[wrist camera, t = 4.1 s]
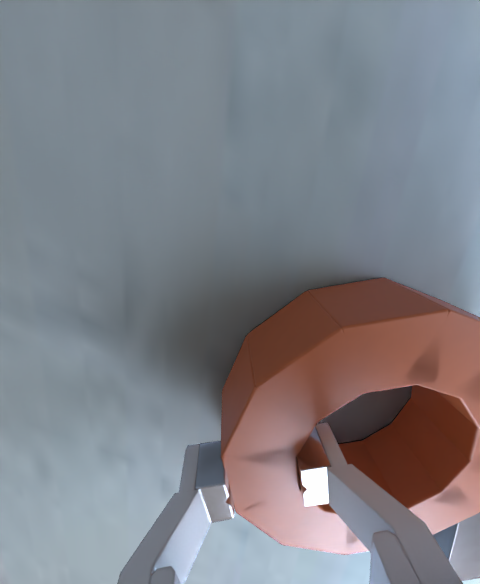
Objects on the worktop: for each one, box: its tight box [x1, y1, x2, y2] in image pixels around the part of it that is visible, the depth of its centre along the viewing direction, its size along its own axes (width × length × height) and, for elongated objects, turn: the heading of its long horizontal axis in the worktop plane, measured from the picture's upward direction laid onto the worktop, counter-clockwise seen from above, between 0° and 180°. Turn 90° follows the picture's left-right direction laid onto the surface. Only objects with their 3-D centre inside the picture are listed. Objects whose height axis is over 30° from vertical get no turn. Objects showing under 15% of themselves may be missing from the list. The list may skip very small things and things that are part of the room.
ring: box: [221, 278, 480, 555], centre depth 10 cm, size 11×11×3 cm
